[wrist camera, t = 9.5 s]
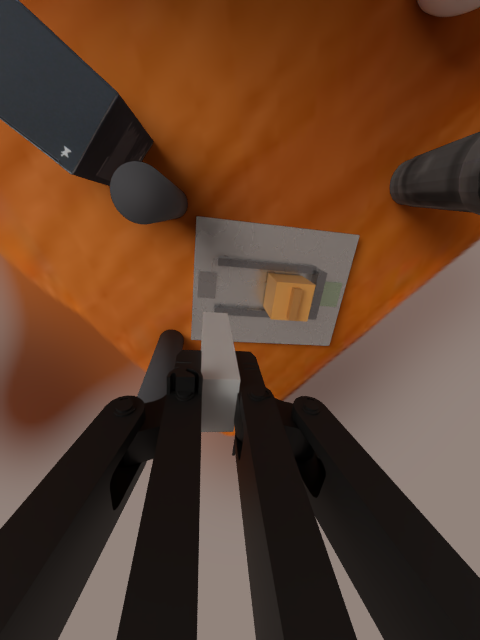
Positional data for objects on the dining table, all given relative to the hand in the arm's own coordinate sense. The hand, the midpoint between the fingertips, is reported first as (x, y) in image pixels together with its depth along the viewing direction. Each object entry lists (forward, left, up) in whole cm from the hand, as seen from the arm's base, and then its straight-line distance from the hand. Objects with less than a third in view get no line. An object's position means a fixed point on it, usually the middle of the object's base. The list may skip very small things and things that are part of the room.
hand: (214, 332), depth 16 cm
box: (-11, +12, -15) cm, 22 cm away
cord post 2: (-4, -9, -15) cm, 18 cm away
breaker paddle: (+8, -1, -13) cm, 16 cm away
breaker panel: (+7, -1, -15) cm, 17 cm away
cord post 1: (-4, +7, -15) cm, 17 cm away
